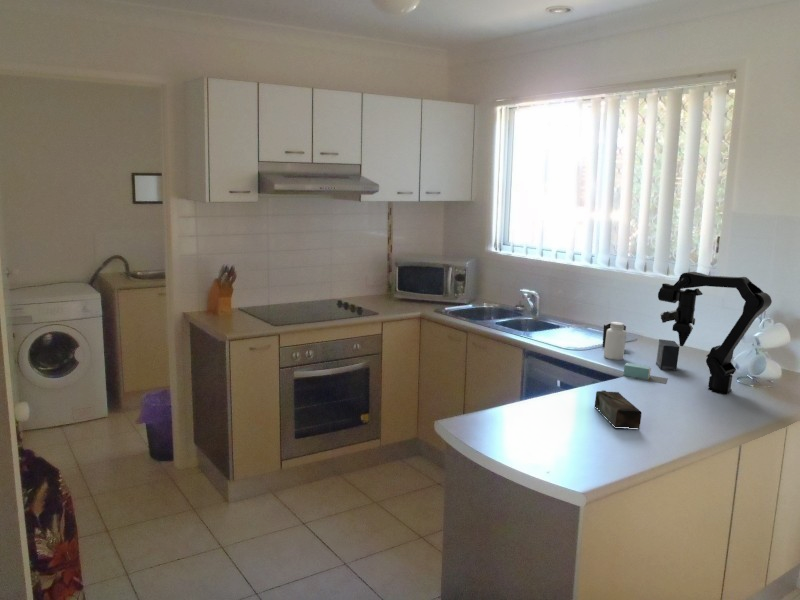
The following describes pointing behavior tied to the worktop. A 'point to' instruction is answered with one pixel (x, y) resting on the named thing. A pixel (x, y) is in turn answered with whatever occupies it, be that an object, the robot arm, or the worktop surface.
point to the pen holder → (606, 331)
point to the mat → (655, 379)
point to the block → (637, 371)
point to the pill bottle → (615, 341)
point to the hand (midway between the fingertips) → (681, 346)
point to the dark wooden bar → (617, 409)
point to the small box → (667, 355)
